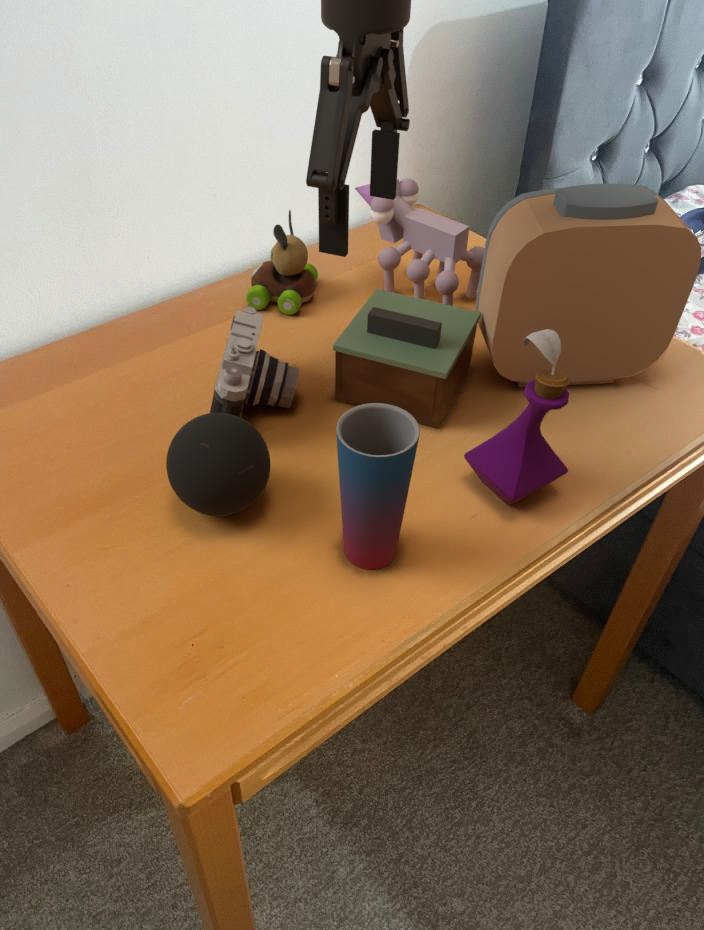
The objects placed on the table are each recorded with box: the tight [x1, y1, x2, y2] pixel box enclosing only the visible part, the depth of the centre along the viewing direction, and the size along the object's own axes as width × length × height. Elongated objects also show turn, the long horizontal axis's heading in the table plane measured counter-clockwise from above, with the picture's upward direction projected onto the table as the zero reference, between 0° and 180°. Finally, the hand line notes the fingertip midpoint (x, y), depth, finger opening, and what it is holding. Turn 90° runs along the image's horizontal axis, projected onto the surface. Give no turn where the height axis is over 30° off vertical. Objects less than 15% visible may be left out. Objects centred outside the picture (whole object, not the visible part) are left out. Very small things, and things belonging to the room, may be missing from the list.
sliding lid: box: [332, 288, 481, 379], centre depth 84 cm, size 13×13×3 cm
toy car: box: [245, 209, 319, 316], centre depth 100 cm, size 9×9×11 cm
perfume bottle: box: [463, 329, 570, 506], centre depth 71 cm, size 8×8×18 cm
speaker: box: [165, 412, 271, 517], centre depth 73 cm, size 10×10×10 cm
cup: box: [335, 403, 421, 570], centre depth 67 cm, size 7×7×15 cm
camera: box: [209, 305, 300, 418], centre depth 84 cm, size 16×9×10 cm, turn 176°
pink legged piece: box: [354, 177, 485, 306], centre depth 100 cm, size 20×11×14 cm, turn 48°
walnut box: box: [334, 324, 478, 429], centre depth 88 cm, size 13×13×7 cm
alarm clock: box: [475, 183, 702, 388], centre depth 85 cm, size 21×10×22 cm, turn 94°
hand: (359, 223), depth 76 cm, fingers open, 13 cm apart
